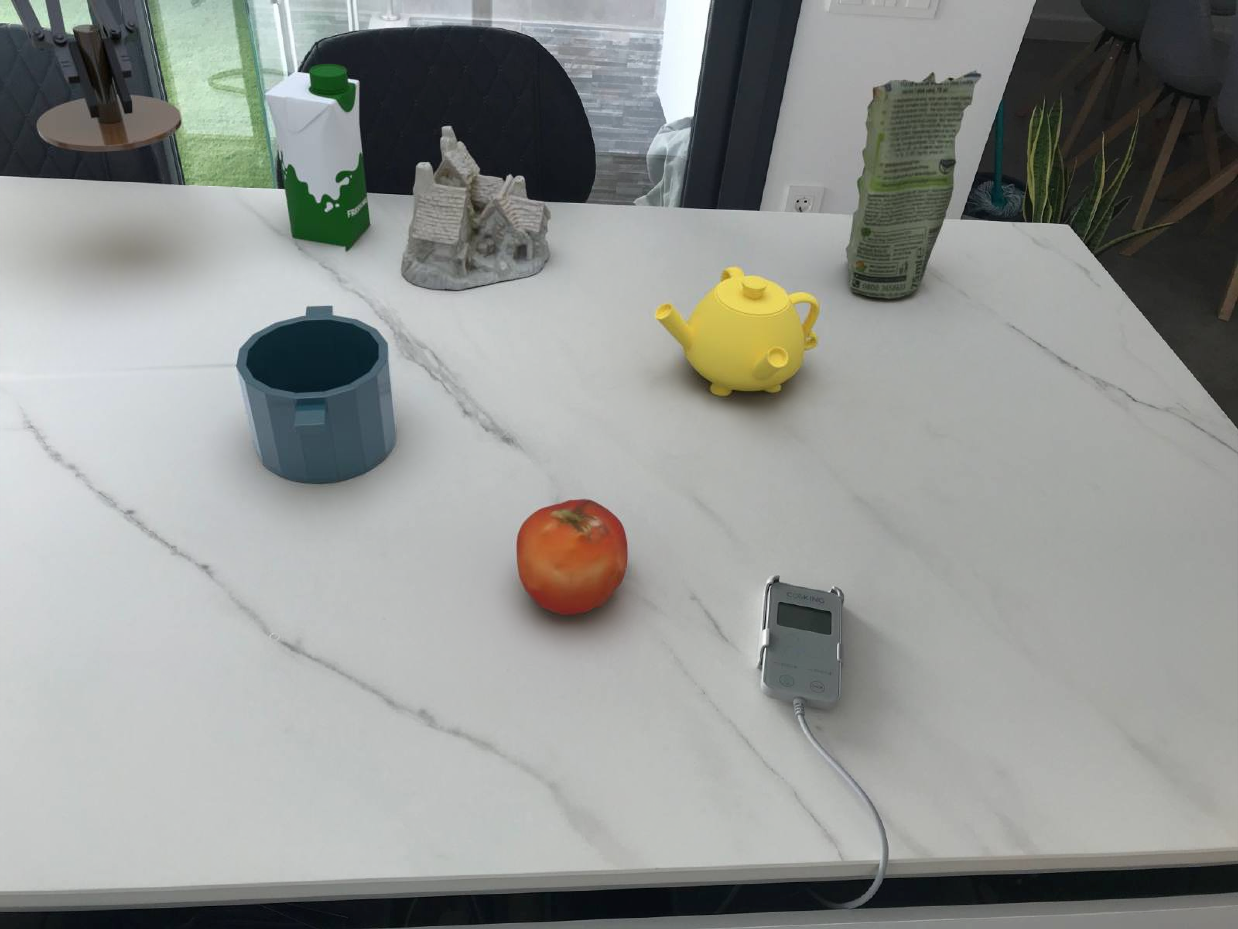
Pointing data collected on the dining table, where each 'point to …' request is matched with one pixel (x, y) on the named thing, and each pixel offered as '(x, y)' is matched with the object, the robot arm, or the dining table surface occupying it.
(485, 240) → the ceramic cottage
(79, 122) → the lid
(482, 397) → the dining table surface
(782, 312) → the teapot
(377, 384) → the pot
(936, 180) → the pouch
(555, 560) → the tomato
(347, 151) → the milk carton
